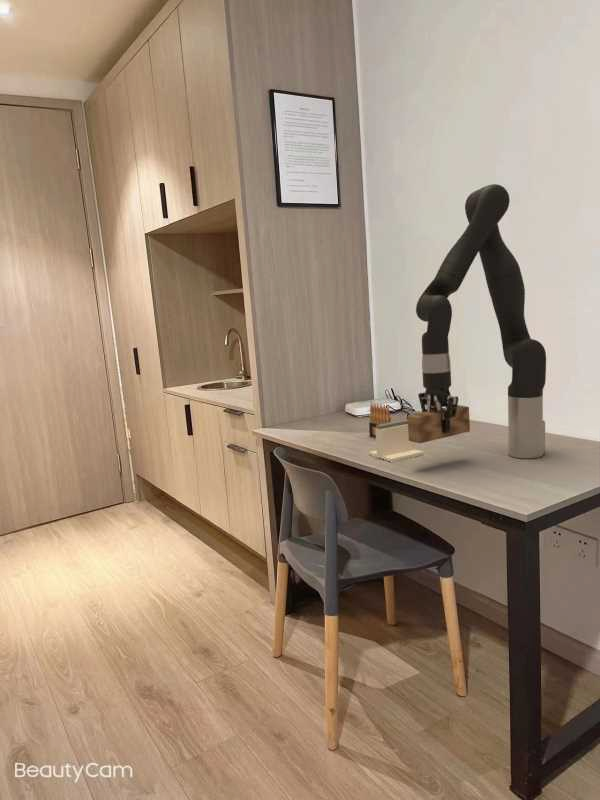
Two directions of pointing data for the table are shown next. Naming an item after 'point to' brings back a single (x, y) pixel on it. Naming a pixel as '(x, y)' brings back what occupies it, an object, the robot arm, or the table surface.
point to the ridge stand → (394, 442)
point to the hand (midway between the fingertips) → (439, 431)
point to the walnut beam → (436, 425)
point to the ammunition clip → (378, 417)
